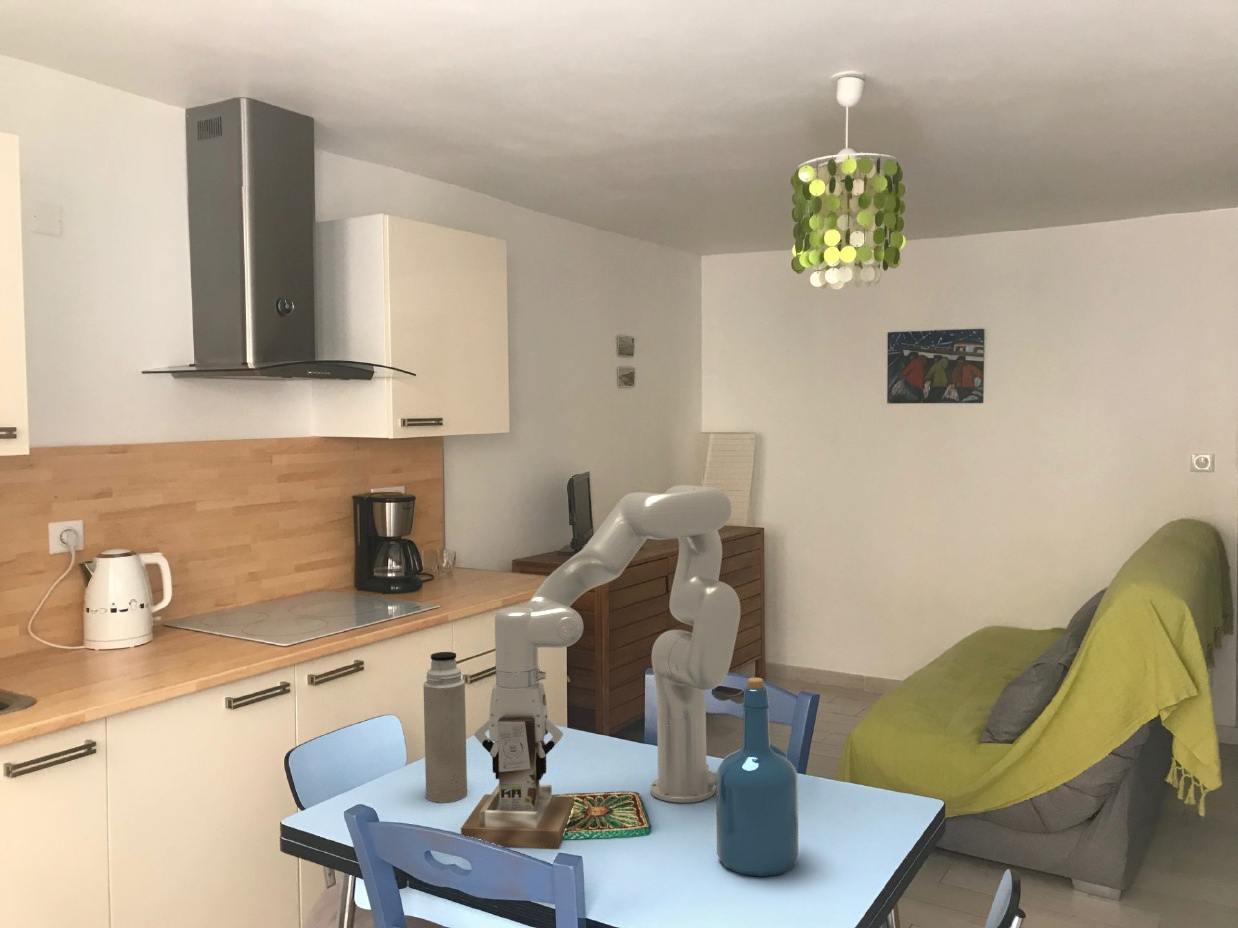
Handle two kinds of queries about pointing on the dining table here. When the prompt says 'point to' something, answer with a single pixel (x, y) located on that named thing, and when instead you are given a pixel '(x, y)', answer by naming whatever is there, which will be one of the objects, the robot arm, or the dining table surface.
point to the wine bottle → (757, 797)
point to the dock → (521, 821)
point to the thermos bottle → (445, 730)
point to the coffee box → (517, 764)
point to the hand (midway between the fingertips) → (519, 776)
